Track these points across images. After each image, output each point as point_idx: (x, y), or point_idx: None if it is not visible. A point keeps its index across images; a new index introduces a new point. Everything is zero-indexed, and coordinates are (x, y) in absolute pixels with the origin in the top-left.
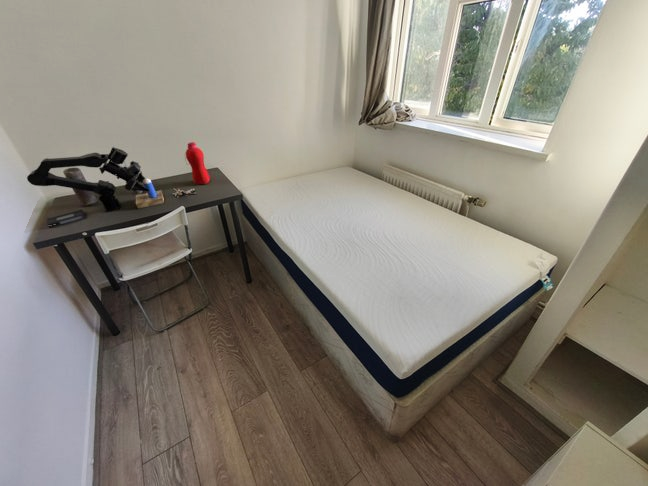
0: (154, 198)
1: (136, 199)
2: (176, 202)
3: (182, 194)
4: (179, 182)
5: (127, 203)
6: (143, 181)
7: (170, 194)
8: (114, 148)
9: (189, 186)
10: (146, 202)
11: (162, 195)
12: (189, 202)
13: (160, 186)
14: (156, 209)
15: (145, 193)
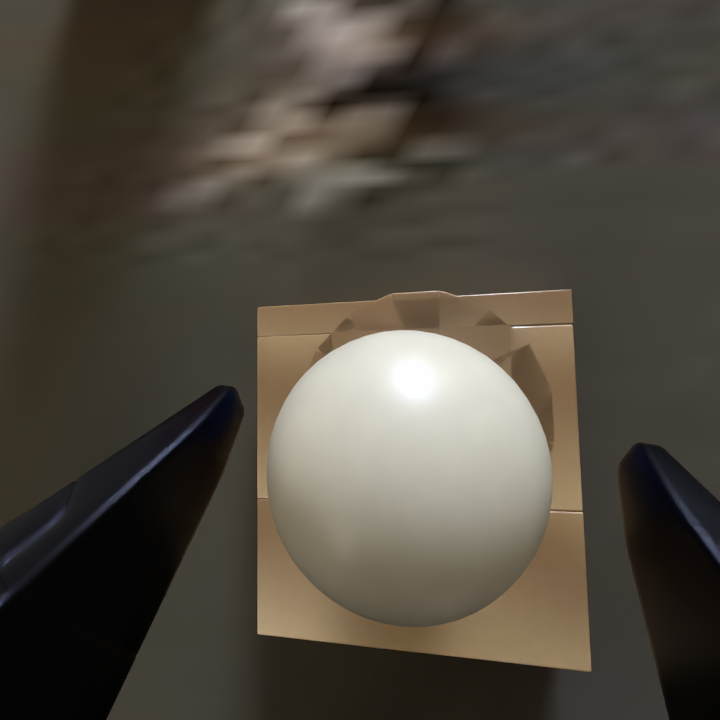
0: None
1: (421, 644)
2: (607, 160)
3: (388, 103)
4: (44, 152)
5: (325, 717)
6: (483, 606)
7: (316, 236)
8: None
9: (201, 41)
10: (577, 514)
11: (433, 292)
12: (696, 2)
13: (45, 342)
14: (715, 400)
15: (262, 509)
